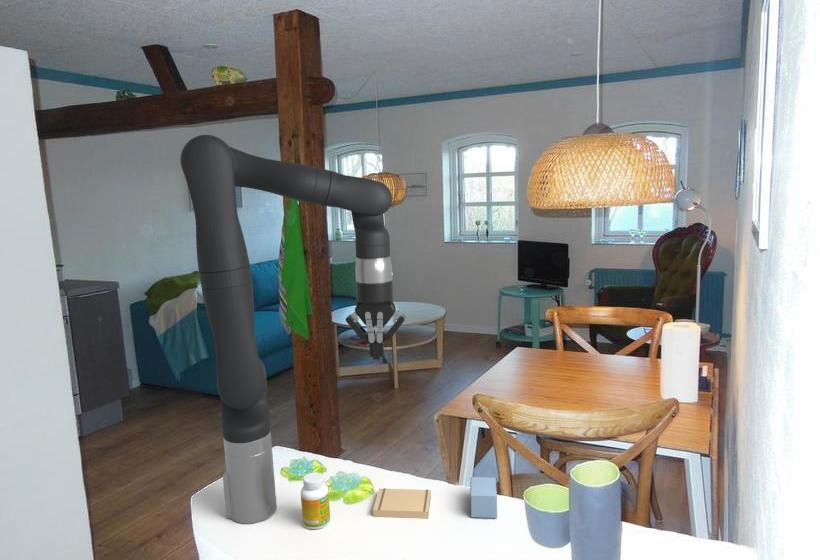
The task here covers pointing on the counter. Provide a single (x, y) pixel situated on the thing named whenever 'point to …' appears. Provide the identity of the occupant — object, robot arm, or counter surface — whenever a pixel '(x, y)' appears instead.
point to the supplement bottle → (315, 501)
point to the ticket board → (402, 503)
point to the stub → (483, 497)
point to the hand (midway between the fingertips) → (377, 358)
